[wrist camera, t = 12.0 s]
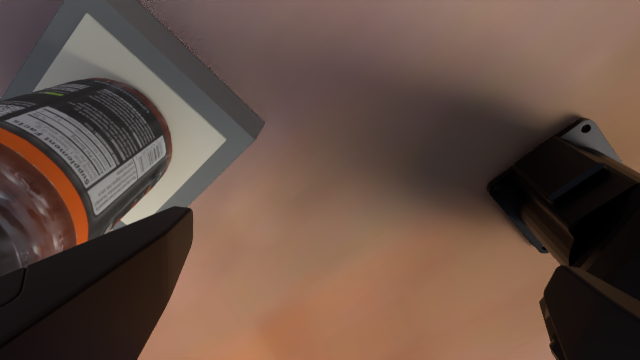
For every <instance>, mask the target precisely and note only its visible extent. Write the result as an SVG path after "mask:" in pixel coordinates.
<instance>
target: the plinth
mask: <svg viewBox="0 0 640 360" xmlns="http://www.w3.org/2000/svg"><path fill="white" fill-rule="evenodd" d="M88 78H107V79H111V80H115V81H118V82H122V83H125V84H127V85H129V86H131V87H133V88H135V89H136V90H138V91H139V92H141V93H142V94H144V96H146V97H147V98H148V99H149V100H150V101H151V102H152V103H153V104H154V105H155V106H156V107H157V109H158V110H159V111H160V113H161V114H162V116H163V117H164V119H165V121H166V123H167V125H168V128H169V131H170V134H171V141H172V158H171V162H170V164H169V166H168V168H167V171H166V172H165V174H164V175H163V176H162V177H161V179H160V180H159V181H158V182H157V184H156V185H155V186H154V187H153V188H152V189H151V190H150V191H149V192H148V193H147V194H146V195H145V196H144V197H143V198H142V199H141V200H140V201H139V202H138V203H137V204H136V205H135V206H134V207H133V208H132V209H131V210H130V211H129V212H128V213H127V214H126V215H125V216H124V217H123V218H122V219H121V220H120V221H119V222H118V223H117V224H116V225H115V226H114V227H113V228H112V229H113V230H116V229H118V228H121V227H123V226H126V225H128V224H131V223H133V222H136V221H138V220H140V219H143V218H145V217H148V216H150V215H153V214H155V213H158V212H160V211H163V210H165V209H168V208H170V207H173V206H180V207H188V206H189V205H190V204H191V203H192V202H193V201H194V200H195V199H196V198H197V197H198V196H199V195H200V194H201V193H202V192H203V191H204V190H205V189H206V188H207V187H208V186H209V185H210V184H211V183H212V182H213V181H214V180H215V179H216V178H217V177H218V176H219V175H220V174H221V173H222V172H223V171H224V170H225V169H226V168H227V167H228V166H229V165H230V164H231V163H232V162H233V161H234V160H235V159H236V158H237V157H238V156H239V155H240V154H241V153H242V152H243V151H244V150H245V149H246V148H248V147H249V146H250V145H251V144H252V143H253V142H254V141H255V139H256V138H257V136H258V134H259V133H260V131H261V129H262V128H263V126H264V124H265V122H264V121H263V120H262V119H261V118H260V117H258V116H257V115H256V114H255V113H254V112H253V111H252V110H251V109H250V108H249V107H248V106H247V105H246V104H245V103H244V102H243V101H242V100H241V99H240V98H239V97H238V96H237V95H236V94H235V93H233V92H232V91H231V90H230V89H229V88H228V87H227V86H226V85H225V84H224V83H223V82H222V81H221V80H220V79H219V78H218V77H217V76H216V75H215V74H214V73H213V72H212V71H211V70H210V69H208V68H207V67H206V66H205V65H204V64H203V63H202V62H201V61H200V60H199V59H198V58H197V57H196V56H195V55H194V54H193V53H192V52H191V51H190V50H189V49H188V48H187V47H186V46H185V45H183V44H182V43H181V42H180V41H179V40H178V39H177V38H176V37H175V36H174V35H173V34H172V33H171V32H170V31H169V30H168V29H167V28H166V27H165V26H164V25H163V24H162V23H161V22H160V21H158V20H157V19H156V18H155V17H154V16H153V15H152V14H151V13H150V12H149V11H148V10H147V9H146V8H145V7H144V6H143V5H142V4H141V3H140V2H139V1H138V0H64V2H63V4H62V5H61V7H60V8H59V10H58V11H57V13H56V14H55V16H54V18H53V19H52V21H51V22H50V24H49V25H48V27H47V28H46V30H45V32H44V33H43V35H42V36H41V38H40V39H39V41H38V42H37V44H36V45H35V47H34V49H33V50H32V52H31V53H30V55H29V56H28V58H27V59H26V61H25V63H24V64H23V66H22V67H21V69H20V70H19V72H18V73H17V75H16V77H15V78H14V80H13V81H12V83H11V84H10V86H9V87H8V89H7V91H6V92H5V94H4V95H3V97H2V98H1V100H0V101H2V100H6V99H10V98H13V97H16V96H20V95H24V94H28V93H31V92H35V91H39V90H43V89H46V88H50V87H54V86H57V85H60V84H64V83H67V82H71V81H76V80H83V79H88Z"/></svg>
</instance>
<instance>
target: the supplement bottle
mask: <svg viewBox="0 0 640 360" xmlns="http://www.w3.org/2000/svg"><path fill="white" fill-rule="evenodd" d="M171 158H172V141H171V134H170V131H169V128H168V125H167V123H166V121H165V119H164V117H163V116H162V114H161V113H160V111H159V110H158V109H157V107H156V106H155V105H154V104H153V103H152V102H151V101H150V100H149V99H148V98H147V97H146V96H144V94H142V93H141V92H139V91H138V90H136V89H135V88H133V87H131V86H129V85H127V84H125V83H122V82H118V81H115V80H111V79H107V78H88V79H83V80H76V81H71V82H67V83H64V84H60V85H57V86H54V87H50V88H46V89H43V90H39V91H35V92H31V93H28V94H24V95H20V96H16V97H13V98H10V99H6V100H2V101H0V276H2V275H5V274H7V273H10V272H12V271H15V270H17V269H19V268H22V267H24V268H26V267H27V266H28V265H30V264H32V263H34V262H37V261H39V260H42V259H44V258H47V257H49V256H52V255H54V254H57V253H59V252H62V251H64V250H67V249H69V248H71V247H74V246H76V245H79V244H81V243H84V242H86V241H89V240H91V239H94V238H96V237H99V236H101V235H104V234H106V233H108V232H109V231H110V230H111V229H112V228H113V227H114V226H115V225H116V224H117V223H118V222H119V221H120V220H121V219H122V218H123V217H124V216H125V215H126V214H127V213H128V212H129V211H130V210H131V209H132V208H133V207H134V206H135V205H136V204H137V203H138V202H139V201H140V200H141V199H142V198H143V197H144V196H145V195H146V194H147V193H148V192H149V191H150V190H151V189H152V188H153V187H154V186H155V185H156V184H157V182H158V181H159V180H160V179H161V177H162V176H163V175H164V174H165V172H166V171H167V168H168V166H169V164H170V162H171Z"/></svg>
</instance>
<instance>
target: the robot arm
mask: <svg viewBox="0 0 640 360" xmlns="http://www.w3.org/2000/svg"><path fill="white" fill-rule="evenodd" d="M584 125H587V126H586V128H585V129H584V130H583V131H581V129H582V127H583V126H584ZM498 186H499V189H498V190H497V191H494V189H495V187H498ZM487 191H488V193H489V194H490V195H491V196H492V198H493V199H494V200H495V201H496V202H497V203H498V204H499V206H500V207H501V208H502V209H503V210H504V211H505V213H506V214H507V215H508V216H509V217H510V218H511V220H512V221H513V222H514V223H515V224H516V225H517V226H518V228H519V229H520V230H521V231H522V232H523V233H524V235H525V236H526V237H527V238H528V239H529V240H530V242H531V243H532V244H533V245H534V246H535V247H536V248H537V250H538V251H539V252H541V253H549V252H550V254H551V255H552V256H553V257H554V258H555V259H556V260H557V261H558V263H559V264H560V265H561V266H559V267H557V268H556V270H555V271H554V273H553V275H552V277H551V279H550V281H549V282H548V284H547V286H546V288H545V290H544V297H543V298H542V299H541V300H540V301H539V304H540V307H541V310H542V314H543V317H544V321H545V324H546V328H547V331H548V334H549V338H550V341H551V343H550V345H549V346H550V349H551V352H552V354H553V355H554V357H555V358H556V360H640V173H638V172H637V171H635V170H633V169H631V168H629V167H627V166H625V165H624V164H623V163H622V162H621V160H620V159H619V157H618V156H617V154H616V153H615V151H614V150H613V149H612V147H611V146H610V144H609V143H608V141H607V140H606V138H605V137H604V135H603V134H602V132H601V131H600V129H599V128H598V127H597V125H596V124H595V122H593V121H592V120H590V119H587V118H581V119H579V120H577V121H576V122H574V123H573V124H571V125H570V126H568V127H567V128H566V129H564V130H563V131H561V132H560V133H559V134H557V135H556V136H554V137H551V138H550V139H548V140H547V141H545V142H544V143H543V144H541V145H540V146H538V147H537V148H536V149H534V150H533V151H531V152H530V153H529V154H527V155H526V156H524V157H523V158H521V159H520V160H519V161H517V162H516V163H515V164H514V166H512V167H511V168H509V169H508V170H507V171H505V172H504V173H502V174H501V175H500V176H498V177H497V178H495V179H494V180H493V181H491V182H490V183H489V184H488V186H487ZM192 240H193V211H192V209H191V208H187V207H180V206H173V207H170V208H168V209H165V210H163V211H160V212H158V213H155V214H153V215H150V216H148V217H145V218H143V219H140V220H138V221H136V222H133V223H131V224H128V225H126V226H123V227H121V228H118V229H116V230H113V231H111V232H108V233H106V234H104V235H101V236H99V237H96V238H94V239H91V240H89V241H86V242H84V243H81V244H79V245H76V246H74V247H71V248H69V249H67V250H64V251H62V252H59V253H57V254H54V255H52V256H49V257H47V258H44V259H42V260H39V261H37V262H34V263H32V264H30V265H28V266H27V267H26V268H24V267H22V268H19V269H17V270H15V271H12V272H10V273H7V274H5V275H2V276H0V360H137V359H138V357H139V355H140V353H141V351H142V350H143V348H144V346H145V344H146V342H147V340H148V339H149V337H150V335H151V333H152V331H153V330H154V328H155V326H156V324H157V322H158V320H159V319H160V317H161V315H162V313H163V311H164V310H165V308H166V306H167V304H168V302H169V300H170V297H171V295H172V293H173V290H174V288H175V285H176V283H177V280H178V278H179V275H180V273H181V270H182V268H183V265H184V263H185V260H186V258H187V255H188V253H189V250H190V248H191V245H192ZM542 246H543V247H542Z"/></svg>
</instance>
